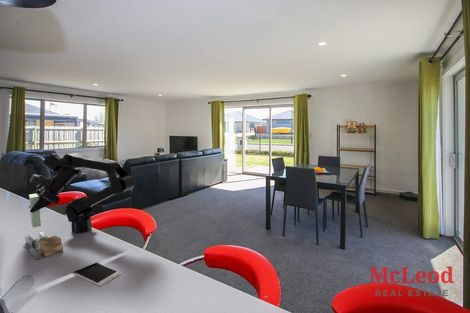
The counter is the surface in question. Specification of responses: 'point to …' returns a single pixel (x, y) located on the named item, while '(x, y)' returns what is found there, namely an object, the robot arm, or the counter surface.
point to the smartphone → (97, 273)
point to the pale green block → (35, 215)
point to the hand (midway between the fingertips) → (30, 209)
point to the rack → (35, 246)
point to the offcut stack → (51, 245)
